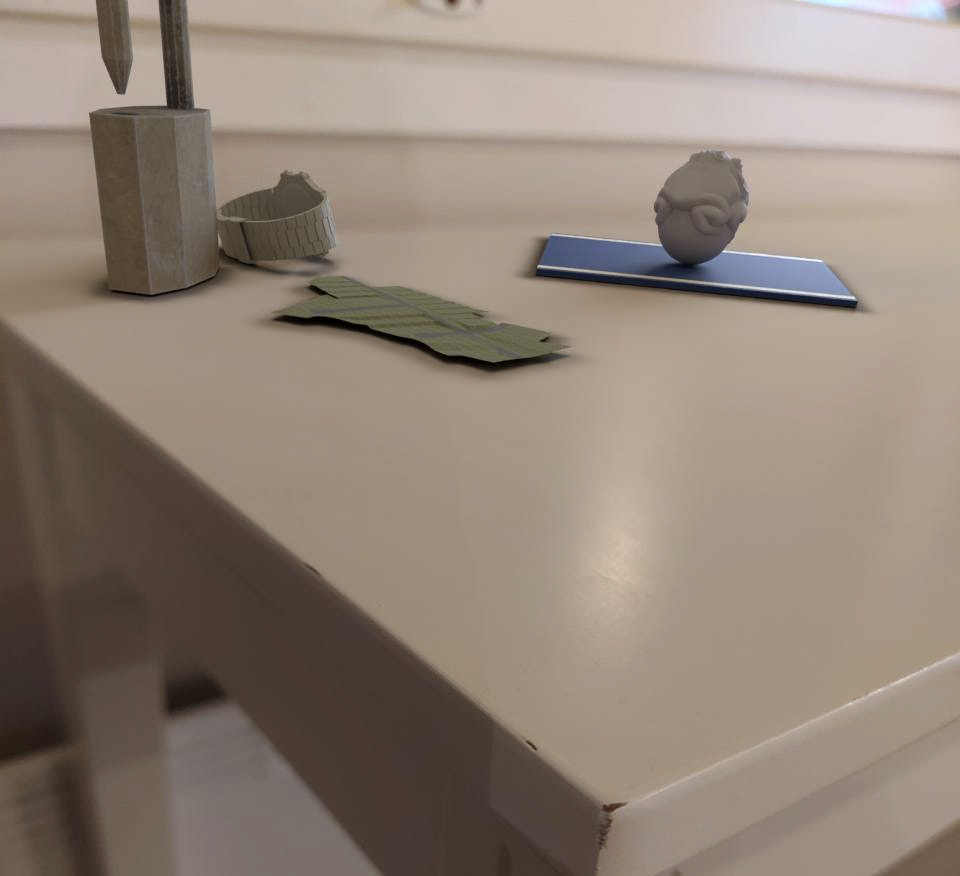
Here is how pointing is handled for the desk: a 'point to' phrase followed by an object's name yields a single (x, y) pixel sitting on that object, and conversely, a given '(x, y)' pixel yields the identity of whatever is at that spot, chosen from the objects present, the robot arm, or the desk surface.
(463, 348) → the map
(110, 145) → the pencil holder
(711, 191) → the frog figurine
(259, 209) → the wristwatch
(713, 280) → the blue flat panel
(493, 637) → the desk surface
